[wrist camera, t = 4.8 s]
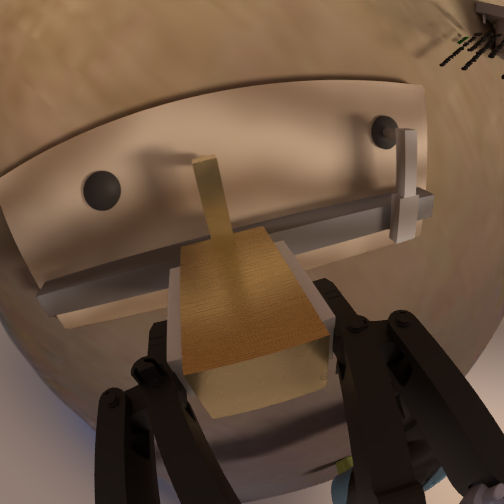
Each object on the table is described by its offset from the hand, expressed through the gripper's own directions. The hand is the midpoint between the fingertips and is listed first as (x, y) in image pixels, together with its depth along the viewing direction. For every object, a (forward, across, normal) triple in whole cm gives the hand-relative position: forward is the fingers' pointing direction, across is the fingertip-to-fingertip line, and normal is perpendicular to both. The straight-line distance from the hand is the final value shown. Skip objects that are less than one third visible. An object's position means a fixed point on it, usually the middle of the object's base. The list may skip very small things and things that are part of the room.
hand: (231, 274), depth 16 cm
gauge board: (+5, -1, -3) cm, 6 cm away
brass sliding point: (+3, 0, -2) cm, 4 cm away
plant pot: (+6, -20, +91) cm, 93 cm away
